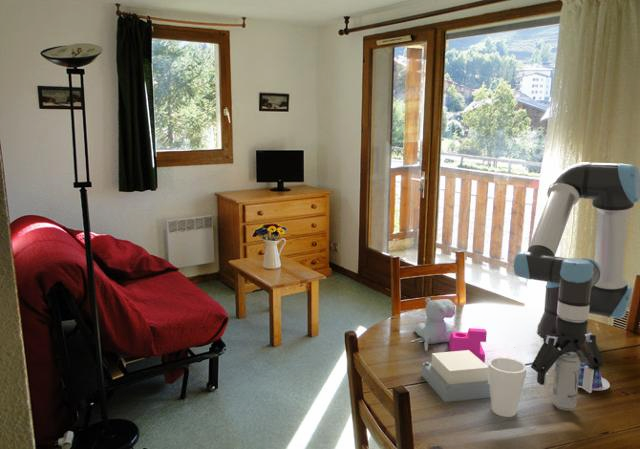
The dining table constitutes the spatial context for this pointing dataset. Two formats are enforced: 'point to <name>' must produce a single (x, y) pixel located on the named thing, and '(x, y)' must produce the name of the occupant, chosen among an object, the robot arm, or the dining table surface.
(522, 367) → the foam cup
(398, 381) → the dining table surface
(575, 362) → the energy drink can
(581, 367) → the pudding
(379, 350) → the dining table surface
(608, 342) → the dining table surface
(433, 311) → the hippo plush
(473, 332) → the bracket
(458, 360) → the cream and grey box
